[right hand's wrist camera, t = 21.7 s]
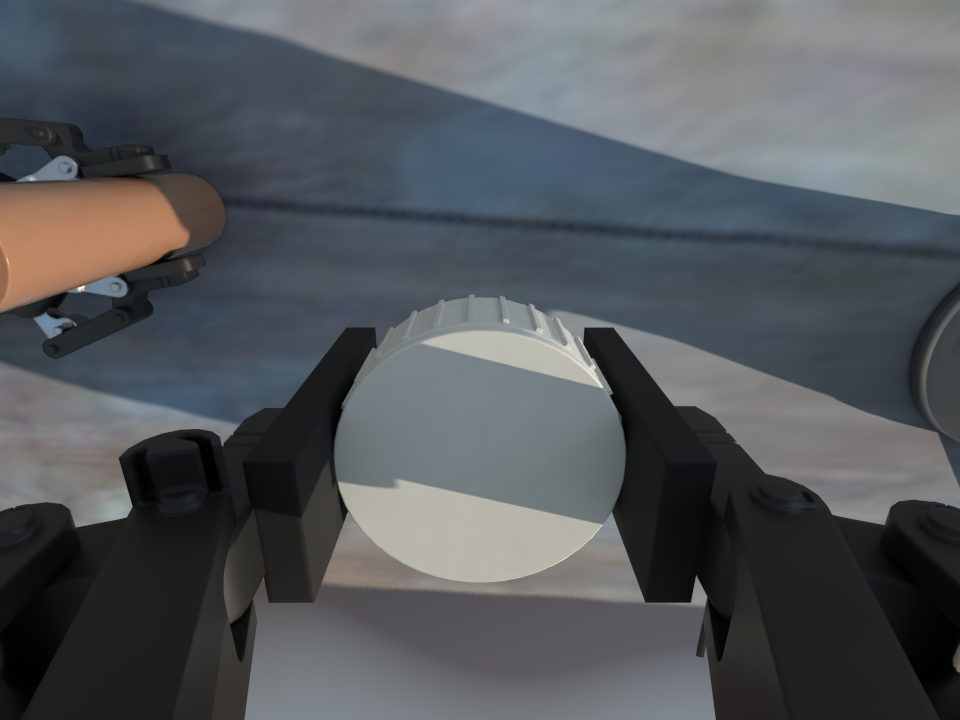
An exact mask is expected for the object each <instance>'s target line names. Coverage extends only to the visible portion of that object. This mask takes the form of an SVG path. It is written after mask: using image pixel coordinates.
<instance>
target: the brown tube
mask: <svg viewBox="0 0 960 720" xmlns="http://www.w3.org/2000/svg"><path fill="white" fill-rule="evenodd" d="M225 224H226V211H225V207H224V204H223V201H222V199H221V197H220V196H219V194H218V193H217V191H216V190H215V189H214V188H213V187H212V186H211V185H210V184H209V183H208V182H206V181H205V180H203V179H202V178H200V177H198V176H195V175H192V174H187V173H173V174H154V175H135V176H115V177H96V178H77V179H58V180H38V181H19V182H0V313H2V312H5V311H8V310H11V309H14V308H17V307H20V306H24V305H27V304H30V303H33V302H36V301H39V300H42V299H45V298H48V297H51V296H55V295H58V294H61V293H64V292H67V291H70V290H73V289H76V288H79V287H82V286H86V285H89V284H92V283H95V282H98V281H101V280H104V279H107V278H110V277H113V276H116V275H120V274H123V273H126V272H129V271H132V270H135V269H138V268H141V267H144V266H147V265H151V264H154V263H157V262H160V261H163V260H166V259H169V258H172V257H175V256H178V255H182V254H185V253H188V252H191V251H194V250H197V249H200V248H203V247H206V246H209V245H211V244H213V243H214V242H215V241H217V240H218V239H219V238H220V236H221V235H222V233H223V231H224V228H225Z"/></svg>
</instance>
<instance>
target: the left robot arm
mask: <svg viewBox="0 0 960 720" xmlns="http://www.w3.org/2000/svg"><path fill="white" fill-rule="evenodd" d="M10 144H21V145H33V146H42V147H43V148H44V149H45V150H46V152H47V153H48V154H49V155H50V157H51V158H52V159H53V160H52V161H51V162H50V163H48V164H47V165H45V166H44V167H43V168H41V169H40V170H39V171H37V172H36V173H34V174H31V175H28V176H25V177H22V178H20V179H19V180H17V179H14V178H12V177H10V176H8V175H6V174H3V173H1V172H0V182H19V181H38V180H58V179H77V178H96V177H115V176H134V175H140V174H145V173H150V172H156V171H161V170H166V169H171V166H170V163H169V160H168V157H167V155H155V153H154V150H153V147H149V146H144V145H121V146H117V147H111V148H106V149H100V150H95V151H92V150H91V149H89V148H88V147H87V146H86V145H85V143H84V142H83V134H82V132H81V130H80V129H79V128H78V127H77V126H76V125H74V124H70V123H58V122H46V121H34V120H22V119H10V118H0V157H1V156H3V155H4V154H5V153H6V150H9V149H10V148H11V146H10ZM205 265H206V263H205V260H204V257H203V255H202V254H195V255H189V256H183V257H178V258H172V259H166V260H163V261H160V262H157V263H154V264H151V265H147V266H144V267H141V268H138V269H135V270H132V271H129V272H126V273H123V274H120V275H116V276H113V277H110V278H107V279H104V280H101V281H98V282H95V283H92V284H89V285H86V286H82V287H79V288H76V289H73V290H70V291H67V292H64V293H61V294H58V295H55V296H51V297H48V298H45V299H42V300H39V301H36V302H33V303H30V304H27V305H24V306H20V307H17V308H14V309H11V310H8V311H5V312H2V313H0V314H13V315H17V316H20V317H23V318H33V319H34V320H35V321H36V323H37V324H38V325H39V327H40V328H41V329H42V330H43V332H44V333H45V334H46V336H47V337H48V338H49V339H48V340H46V341H45V342H44V343H43V346H42V348H43V351H44V353H45V354H46V355H47V356H49V357H51V358H53V359H58V358H61V357H63V356H65V355H67V354H69V353H72V352H74V351H76V350H78V349H80V348H82V347H85V346H87V345H89V344H91V343H93V342H95V341H97V340H100V339H102V338H104V337H106V336H108V335H110V334H113V333H115V332H117V331H119V330H121V329H123V328H125V327H128V326H130V325H131V324H134V323H136V322H138V321H140V320H142V319H144V318H146V317H149V316H150V315H152V313H153V306H152V304H151V303H150V302H149V301H148V297H147V295H148V291H149V290H154V289H159V288H165V287H171V286H177V285H181V284H184V283H186V282H188V281H191V280H193V279H194V278H196V277H197V276H199V273H198V270H197V269H198V268H200V267H203V266H205ZM69 292H70V293H83V292H88V293H94V294H100V295H106V296H112V307H113V309H112V310H110V311H108V312H106V313H103V314H101V315H99V316H97V317H95V318H93V319H91V320H89V318H88V317H87V316H81V315H79V314H70V315H66V314H63V313H61V312H60V311H59V310H58V309H57V308H58V307H59V306H60V304H61V303H62V302H63V300H64V299H65V297H66V296H67V295H68V293H69Z"/></svg>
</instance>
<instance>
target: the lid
mask: <svg viewBox="0 0 960 720" xmlns="http://www.w3.org/2000/svg"><path fill="white" fill-rule="evenodd" d="M611 394H613V392H612V390H611V389H610V387H609V385H608V383H607V381H606V380H605V378H604V376H603V374H602V373H601V371H600V369H599V367H598V365H597V364H596V362H595V360H594V358H592V359H591V358H590V356H589V354H588V352H587V350H586V349H585V347H584V345H583V343H582V341H581V339H580V338H579V337H578V336H576V337H575V338H574V337H573V336H572V335H571V334H570V333H569V332H568V331H567V330H566V329H565V328H564V327H563V326H562V324H561V322H560V320H559V319H558V318H556V317H555V318H554V319H552V318H550V317H549V316H547V315H545V314H544V313H542V312H540V311H538V310H536V309H535V307H534V305H532V304H529V305H528V306H526V305H523V304H520V303H517V302H513V301H510V300H505V297H504V296H500V297H499V299H497V298H485V297H474V295H469V298H463V299H455V300H451V301H447V302H445V301H444V299H442V300H439V303H438V304H437V305H434V306H431V307H429V308H426V309H424V310H422V311H420V312H418V313H417V311H416V310H415V311H413V312H412V313H411V315H410V317H409V318H408V319H406V320H405V321H404V322H402V323H401V324H400V325H398V326H397V327H396V328H395V329H394V328H393V327H391V328H390V329H389V330H388V332H387V333H386V335H385V337H384V339H383V341H382V342H381V344H380V345H379V346H378V348H377V349H375V348H372V350H371V351H370V353H369V355H368V357H367V358H366V360H365V362H364V364H363V366H362V367H361V369H360V371H359V373H358V374H357V376H356V378H355V380H354V384H353V386H352V387H351V389H350V391H349V393H348V395H347V396H346V398H345V400H344V402H343V404H342V406H341V409H343V412H342V414H341V417H340V420H339V422H338V426H337V430H336V435H335V439H334V465H335V474H336V480H337V485H338V489H339V492H340V494H341V497H342V499H343V502H344V504H345V506H346V508H347V510H348V511H349V513H350V515H351V517H352V518H353V520H354V521H355V522H356V524H357V525H358V526H359V528H360V529H361V530H362V532H363V533H364V534H365V535H366V536H367V537H368V538H369V539H370V540H371V541H372V542H373V543H374V544H375V545H377V546H378V547H379V548H380V549H382V550H383V551H384V552H386V553H387V554H388V555H390V556H391V557H393V558H395V559H396V560H398V561H400V562H401V563H403V564H405V565H407V566H409V567H411V568H414V569H416V570H418V571H421V572H424V573H427V574H430V575H432V576H436V577H440V578H445V579H449V580H456V581H464V582H495V581H504V580H510V579H515V578H520V577H523V576H527V575H530V574H533V573H537V572H539V571H541V570H544V569H546V568H548V567H551V566H553V565H555V564H556V563H558V562H560V561H562V560H564V559H565V558H567V557H569V556H570V555H571V554H573V553H574V552H575V551H577V550H578V549H580V548H581V547H582V546H583V545H584V544H585V543H586V542H587V541H589V540H590V539H591V538H592V537H593V536H594V535H595V533H596V532H597V531H598V530H599V529H600V527H601V526H602V525H603V524H604V522H605V521H606V519H607V518H608V516H609V514H610V513H611V511H612V510H613V507H614V505H615V503H616V501H617V499H618V497H619V494H620V491H621V487H622V484H623V479H624V471H625V462H626V442H625V436H624V430H623V426H622V423H621V422H622V417H621V415H620V413H619V412H618V410H617V408H616V406H615V404H614V402H613V401H612V399H611V397H610V395H611Z"/></svg>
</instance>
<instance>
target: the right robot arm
mask: <svg viewBox="0 0 960 720" xmlns="http://www.w3.org/2000/svg"><path fill="white" fill-rule="evenodd" d="M583 345H584V347H585V349H586V350H587V352H588V354H589V356H590V358H591V359H592V358H594V360H595V362H596V364H597V365H598V367H599V369H600V371H601V373H602V374H603V376H604V378H605V380H606V381H607V383H608V385H609V387H610V389H611V390H612V392H613V394H611V395H610V397H611V399H612V401H613V402H614V404H615V406H616V408H617V410H618V412H619V413H620V415H621V417H622V422H621V423H622V426H623V430H624V436H625V442H626V462H625V471H624V479H623V484H622V487H621V491H620V494H619V497H618V499H617V501H616V503H615V505H614V507H613V510H612V513H613V516H614V519H615V521H616V524H617V527H618V530H619V532H620V535H621V538H622V540H623V543H624V546H625V548H626V551H627V554H628V557H629V559H630V562H631V565H632V567H633V570H634V573H635V575H636V578H637V581H638V584H639V586H640V589H641V592H642V594H643V597H644V600H645V602H646V603H691V599H692V594H693V588H694V583H695V578H696V575H697V577H698V579H699V581H700V583H701V585H702V587H703V589H704V591H705V593H706V595H707V602H706V607H705V611H704V616H703V621H702V626H701V631H700V636H699V641H698V646H697V653H696V656H699V657H704V652H705V647H706V646H707V654H708V662H709V670H710V677H711V685H712V693H713V700H714V708H715V716H716V720H960V509H959V508H956V507H953V506H950V505H947V506H945V504H942V503H938V502H928V501H920V500H908V501H899V502H897V503H896V504H895V505H893V506H892V507H891V508H890V511H889V514H888V517H887V519H886V522H885V525H880V524H875V523H870V522H865V521H859V520H854V519H849V518H843V517H839V516H835V515H832V514H831V512H830V510H829V508H828V506H827V505H826V504H825V503H824V501H823V500H822V499H821V498H820V497H819V496H818V495H817V494H815V493H814V492H812V491H811V490H809V489H808V488H806V487H805V486H803V485H800V484H798V483H796V482H793V481H791V480H788V479H786V478H781V477H777V476H773V475H768V474H765V473H764V472H763V471H762V470H761V469H760V467H759V466H758V465H757V464H756V463H755V462H754V461H753V460H752V458H751V457H750V456H749V455H748V454H747V453H746V452H745V451H744V450H743V448H742V447H741V446H740V445H739V444H736V441H735V440H734V438H733V437H732V436H731V435H730V434H729V433H727V431H726V430H725V428H724V427H723V426H722V425H721V424H720V423H719V422H718V421H717V419H716V418H715V417H713V416H711V415H709V414H708V413H706V412H704V411H702V410H701V409H699V408H697V407H695V406H673V404H672V403H671V402H670V400H669V399H668V398H667V396H666V395H665V394H664V393H663V391H662V390H661V389H660V387H659V386H658V385H657V384H656V382H655V381H654V380H653V378H652V377H651V376H650V375H649V373H648V372H647V371H646V369H645V368H644V367H643V366H642V364H641V363H640V362H639V360H638V359H637V358H636V357H635V355H634V354H633V353H632V351H631V350H630V349H629V347H628V346H627V345H626V344H625V342H624V341H623V340H622V338H621V337H620V336H619V335H618V333H617V332H616V331H615V329H614V328H585V329H584V342H583ZM372 348H375V349H377V346H376V333H375V328H346V329H345V330H344V332H343V333H342V334H341V335H340V337H339V338H338V339H337V341H336V342H335V343H334V344H333V346H332V347H331V348H330V350H329V351H328V352H327V353H326V355H325V356H324V357H323V359H322V360H321V361H320V363H319V364H318V365H317V366H316V368H315V369H314V370H313V372H312V373H311V374H310V375H309V377H308V378H307V379H306V381H305V382H304V383H303V384H302V386H301V387H300V388H299V390H298V391H297V392H296V393H295V395H294V396H293V397H292V399H291V400H290V401H289V402H288V404H287V405H286V406H285V408H264V409H262V410H261V411H259V412H257V413H255V414H254V415H252V416H250V417H248V418H247V419H245V420H244V421H243V422H242V424H241V425H240V426H239V427H238V428H237V429H236V430H235V431H234V433H233V435H231V436H230V437H229V438H228V439H227V440H226V442H225V443H224V446H222V445H221V440H220V437H219V436H218V435H216V434H215V433H213V432H212V431H206V430H201V429H189V430H178V431H173V432H168V433H163V434H160V435H157V436H154V437H151V438H148V439H145V440H143V441H141V442H139V443H138V444H136V445H134V446H132V447H130V448H129V449H128V450H126V451H125V452H124V453H123V454H122V455H121V456H120V457H119V461H120V464H121V468H122V471H123V475H124V478H125V481H126V485H127V488H128V492H129V495H130V499H131V502H132V506H133V507H132V509H131V511H130V513H129V515H128V517H127V518H123V519H119V520H113V521H108V522H103V523H98V524H92V525H87V526H82V527H77V528H76V527H75V524H74V521H73V518H72V515H71V512H70V510H69V509H68V508H67V507H65V506H64V505H62V504H57V503H48V502H45V503H37V504H25V505H21V506H16V507H15V508H9V509H6V510H3V511H1V512H0V720H244V717H245V709H246V702H247V694H248V686H249V678H250V671H251V663H252V655H253V648H254V640H255V632H256V624H257V619H256V612H255V607H254V602H253V597H254V595H255V593H256V591H257V589H258V587H259V585H260V583H261V581H262V579H263V577H264V580H265V585H266V590H267V595H268V601H269V603H314V601H315V599H316V596H317V593H318V591H319V588H320V585H321V583H322V580H323V577H324V575H325V572H326V569H327V566H328V564H329V561H330V558H331V556H332V553H333V550H334V548H335V545H336V542H337V539H338V537H339V534H340V531H341V529H342V526H343V523H344V521H345V518H346V515H347V512H348V510H347V508H346V506H345V504H344V502H343V499H342V497H341V494H340V492H339V489H338V485H337V480H336V474H335V465H334V439H335V435H336V430H337V426H338V422H339V420H340V417H341V414H342V412H343V409H341V406H342V404H343V402H344V400H345V398H346V396H347V395H348V393H349V391H350V389H351V387H352V386H353V384H354V380H355V378H356V376H357V374H358V373H359V371H360V369H361V367H362V366H363V364H364V362H365V360H366V358H367V357H368V355H369V353H370V351H371V350H372ZM910 383H911V391H912V395H913V399H914V401H915V404H916V406H917V408H918V410H919V412H920V413H921V414H922V416H923V417H924V418H925V419H926V421H927V422H928V423H929V424H931V425H932V426H933V427H934V428H936V429H937V430H939V431H940V432H942V433H944V434H945V435H947V436H949V437H950V438H952V439H954V440H955V441H957V442H959V443H960V286H959V287H958V288H957V289H955V290H954V291H953V292H952V293H951V294H950V295H949V296H948V297H947V298H946V299H945V301H944V302H943V303H942V304H941V305H940V306H939V308H938V309H937V310H936V311H935V313H934V314H933V315H932V317H931V318H930V320H929V321H928V323H927V325H926V326H925V328H924V330H923V332H922V334H921V336H920V338H919V340H918V342H917V345H916V348H915V351H914V355H913V359H912V363H911V371H910Z"/></svg>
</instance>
